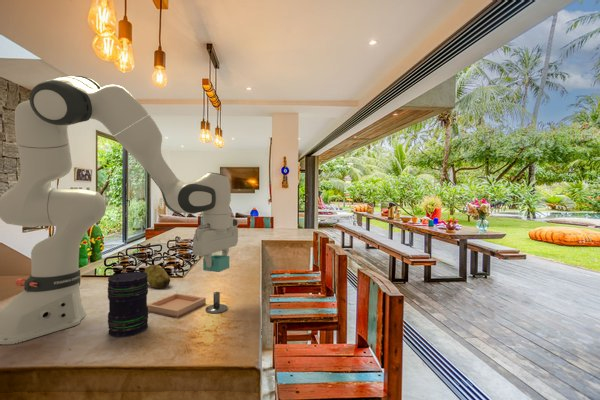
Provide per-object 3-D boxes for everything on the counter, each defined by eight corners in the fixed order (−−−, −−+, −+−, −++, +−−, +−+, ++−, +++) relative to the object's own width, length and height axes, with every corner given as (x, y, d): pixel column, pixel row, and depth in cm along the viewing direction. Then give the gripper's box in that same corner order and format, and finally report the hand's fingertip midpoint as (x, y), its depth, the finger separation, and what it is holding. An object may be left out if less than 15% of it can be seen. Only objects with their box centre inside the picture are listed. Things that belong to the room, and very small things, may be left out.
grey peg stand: (218, 314, 99) (218, 297, 99) (200, 311, 102) (200, 294, 101) (231, 307, 105) (231, 291, 105) (214, 304, 108) (214, 288, 108)
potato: (148, 292, 121) (148, 271, 120) (142, 283, 131) (142, 264, 131) (171, 288, 125) (171, 268, 125) (163, 280, 136) (163, 262, 136)
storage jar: (139, 319, 95) (138, 269, 95) (154, 328, 89) (154, 275, 88) (102, 330, 87) (101, 276, 87) (116, 341, 81) (116, 283, 81)
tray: (177, 318, 96) (177, 311, 96) (145, 311, 101) (145, 304, 101) (205, 304, 108) (205, 297, 108) (176, 298, 113) (176, 292, 113)
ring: (218, 272, 101) (218, 259, 101) (203, 270, 103) (203, 258, 103) (229, 267, 106) (229, 256, 106) (214, 266, 109) (214, 254, 108)
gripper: (204, 226, 93) (204, 273, 94) (241, 220, 112) (240, 258, 113) (187, 225, 95) (187, 270, 96) (226, 219, 115) (225, 257, 115)
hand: (216, 264), depth 105 cm, fingers closed on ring, 6 cm apart
